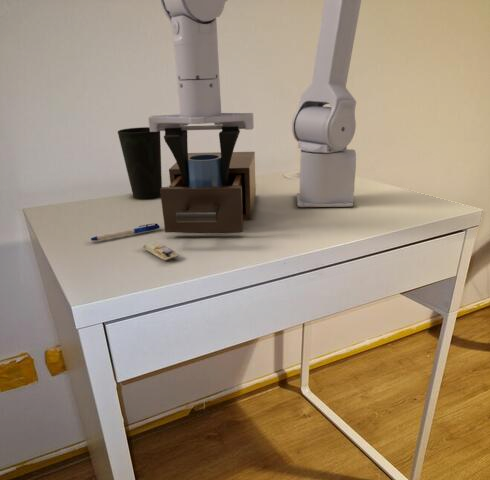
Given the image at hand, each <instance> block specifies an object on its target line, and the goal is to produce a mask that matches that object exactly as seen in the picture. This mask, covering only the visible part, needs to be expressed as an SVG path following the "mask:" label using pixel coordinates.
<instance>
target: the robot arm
mask: <svg viewBox="0 0 490 480" xmlns="http://www.w3.org/2000/svg"><path fill="white" fill-rule="evenodd" d="M227 1H228V0H160V4H161V8H162V10H163V12H164V15H165V16H166V18H167V19H168V20H169V22H170V24H171V31H172V39H173V40H172V41H173V51H174V63H175V72H176V84H177V85H176V86H177V94H178V106H179V113H177V114H161V115H159V114H158V115H150V116H148V117H147V118H148V119H147V120H148V127H150V132H158V131H160V132H164V135H163V140H164V142H165V143H166V145H167V147H168V148H169V150H170V152H171V154H172V155H173V158H174V160H175V163H176V162H177V164H178V167H179V169H180V172H181V175H182V179H183V183H184V184H189V183H188V173H187V162H186V158H187V157H188V153H189V151H188V149H189V148H188V131H214V130H215V131H216V130H218V131H219V130H221V131H219V132H218V137H219V148H220V152H221V160H222V168H221V179H222V184H227V182H228V173H229V166H230V161H231V157H232V153H233V152H234V149H235V147H236V143H237V141H238V138H239V135H240V134H241V133H240V132H241V130H246V131H247V130H251V131H252V130H254V112H222V102H221V101H222V99H221V80H220V63H219V43H218V41H219V40H218V23H217V22H218V21H217V18H220V17H221V15H222V14H223V12H224V9H225V5H226V4H225V3H227ZM361 3H362V0H323V7H322V12H321V13H322V14H321V19H320V26H319V33H318V40H317V46H316V53H315V59H314V66H313V72H312V79H311V84H310V85H309V86H308V87H307V88H306V89H305V90H304V91H303V92H302V93H301V95H300V96H299V103H298V107H297V109H296V110H295V113H294V115H293V117H292V121H291V132H292V135H293V138H294V139H295V141H296V142H298V145H297V146H298V147H297V148H298V149H300V155H299V156H300V157H299V158H300V161H299V193H296V203H297V207H298V208H339V207H341V208H345V207H351V208H352V207H353V206H354V195H355V194H354V193H355V182H356V168H357V154H356V150H355V149H349V148H348V146H349V145H350V143H352V140H353V138H354V136H355V133H356V128H357V123H356V121H357V120H356V105H357V101H356V99H355V97H354V96H353V95H352V94H351V92H350V91H349V90H348V89H347V82H348V76H349V71H350V67H351V66H350V65H351V60H352V55H353V49H354V43H355V38H356V32H357V28H358V27H357V25H358V21H359V15H360V10H361V6H362V5H361ZM326 105H329V106H326ZM202 124H205V125H202ZM206 124H210V125H206ZM211 124H213V125H211Z"/></svg>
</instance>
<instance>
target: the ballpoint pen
mask: <svg viewBox="0 0 490 480" xmlns="http://www.w3.org/2000/svg"><path fill="white" fill-rule="evenodd" d="M160 227H161V226H160V224H158V223H148V224H141V225H139V226H138V227H136V228H132V229H128V230H122V231H117V232H112V233H107V234H101V235H96V236H93V237H91V238H90V240H91V241H92V242H96V241H102V240H107V239H113V238H118V237H122V236H127V235H132V234H135V235H136V234H140V233H146V232H150V231H151V232H152V231H155V230H158V229H160Z"/></svg>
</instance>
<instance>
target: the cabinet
mask: <svg viewBox="0 0 490 480" xmlns="http://www.w3.org/2000/svg"><path fill="white" fill-rule="evenodd" d="M203 154H215V155H220V156H221V151H219V152H217V151H215V152H214V151H213V152H188V157H190V156H194V155H203ZM168 172H169V182H170V184H169V185H171V184H172V182H173V181H174V180H175V179H176V178H177V177H178V176H179V175H180V174H181V172H180V169H179V167H178V164H177V162H176V161H175V162H174V164H173V165H172V166H171V167H170V168H168ZM231 173H244V201H245V205H244V209H243V221H244V220H248V221H249V220H251V219H252V216H253V211H254V206H255V201H256V197H257V194H256V193H257V190H256V189H257V188H256V151H233V153H232V157H231V161H230V166H229V173H228V174H231Z"/></svg>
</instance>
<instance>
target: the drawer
mask: <svg viewBox="0 0 490 480" xmlns="http://www.w3.org/2000/svg"><path fill="white" fill-rule="evenodd" d="M160 193H161V196H160V200H161V208H162V218H163V226H164V233H243V232H244V220H243V209H244V205H245V201H244V173H231V174H228V182H227V184H224V186H206V187H189V184H184V183H183V179H182V175H181V174H180V175H179V176H178V177H177V178H176V179H175V180H174V181H173V182H172V184H169V186H162V188H161V189H160Z"/></svg>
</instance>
